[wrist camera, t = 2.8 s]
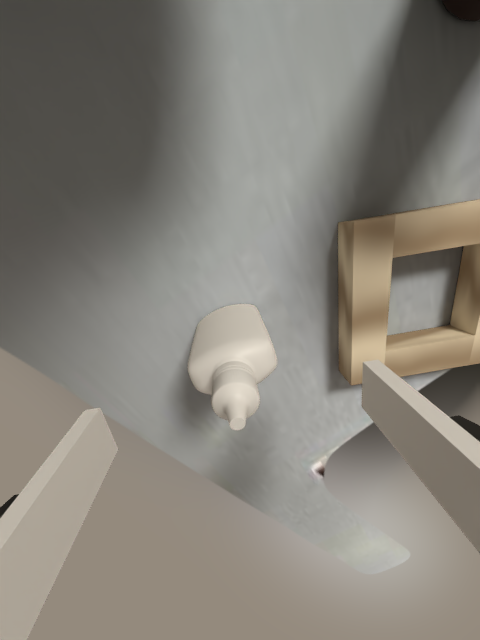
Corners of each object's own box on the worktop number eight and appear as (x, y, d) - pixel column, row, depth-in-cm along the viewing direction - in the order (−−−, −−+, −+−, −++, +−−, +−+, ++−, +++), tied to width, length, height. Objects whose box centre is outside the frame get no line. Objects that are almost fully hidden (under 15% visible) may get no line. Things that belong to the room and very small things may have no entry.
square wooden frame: (338, 222, 19) (353, 221, 17) (508, 194, 19) (547, 189, 17) (338, 370, 24) (351, 385, 22) (473, 347, 24) (500, 359, 22)
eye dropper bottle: (254, 349, 23) (286, 465, 12) (195, 340, 22) (167, 455, 11) (264, 305, 21) (312, 390, 10) (201, 295, 21) (177, 373, 9)
